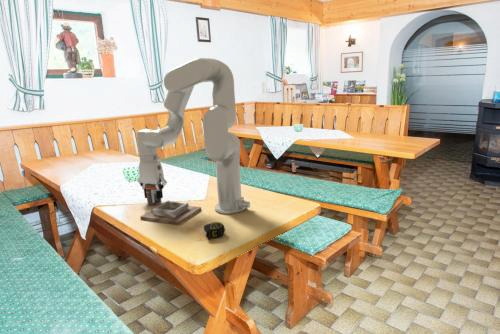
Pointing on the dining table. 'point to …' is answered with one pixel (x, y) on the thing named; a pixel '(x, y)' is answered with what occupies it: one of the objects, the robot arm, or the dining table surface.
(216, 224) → the tape measure
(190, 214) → the holder
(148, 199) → the supplement bottle
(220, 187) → the robot arm
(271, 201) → the dining table surface
